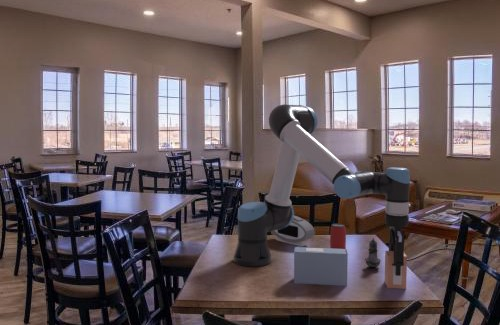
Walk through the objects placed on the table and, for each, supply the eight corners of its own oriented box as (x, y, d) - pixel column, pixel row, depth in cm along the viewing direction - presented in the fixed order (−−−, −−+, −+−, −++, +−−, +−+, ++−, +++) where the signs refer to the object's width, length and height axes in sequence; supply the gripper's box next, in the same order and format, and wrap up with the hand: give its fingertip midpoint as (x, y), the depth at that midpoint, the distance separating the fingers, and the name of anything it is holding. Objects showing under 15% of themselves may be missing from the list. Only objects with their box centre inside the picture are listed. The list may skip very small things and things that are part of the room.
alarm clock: (269, 239, 206) (269, 213, 205) (278, 236, 210) (278, 211, 209) (306, 248, 189) (306, 220, 188) (314, 246, 193) (315, 218, 192)
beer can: (336, 255, 179) (336, 227, 178) (327, 251, 185) (327, 224, 184) (348, 253, 181) (349, 225, 181) (339, 249, 187) (340, 222, 187)
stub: (387, 287, 141) (388, 255, 140) (384, 281, 146) (385, 250, 146) (406, 288, 140) (407, 256, 139) (402, 282, 146) (403, 250, 145)
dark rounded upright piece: (364, 270, 159) (364, 239, 158) (365, 265, 164) (365, 235, 163) (380, 272, 157) (380, 240, 156) (381, 267, 162) (381, 237, 161)
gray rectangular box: (293, 283, 145) (294, 251, 145) (294, 277, 151) (295, 246, 150) (347, 286, 143) (347, 253, 142) (345, 280, 149) (346, 248, 148)
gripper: (415, 219, 131) (413, 291, 133) (402, 208, 150) (401, 271, 152) (390, 219, 132) (388, 290, 134) (381, 208, 151) (379, 270, 153)
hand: (395, 280), depth 143 cm, fingers closed on stub, 6 cm apart
